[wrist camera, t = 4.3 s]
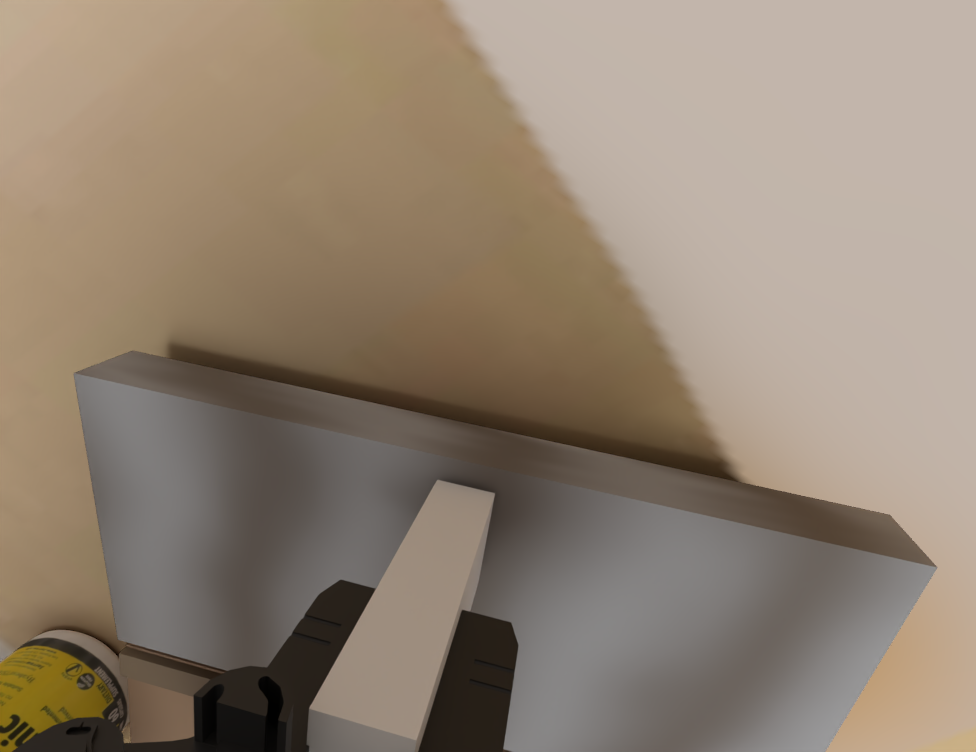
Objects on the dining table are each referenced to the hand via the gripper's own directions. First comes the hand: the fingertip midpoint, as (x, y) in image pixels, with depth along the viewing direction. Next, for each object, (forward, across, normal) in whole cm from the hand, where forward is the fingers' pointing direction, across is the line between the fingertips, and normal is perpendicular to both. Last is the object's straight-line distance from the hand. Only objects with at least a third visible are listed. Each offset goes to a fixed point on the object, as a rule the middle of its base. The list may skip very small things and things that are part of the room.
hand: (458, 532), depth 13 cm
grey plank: (+3, 0, +3) cm, 4 cm away
